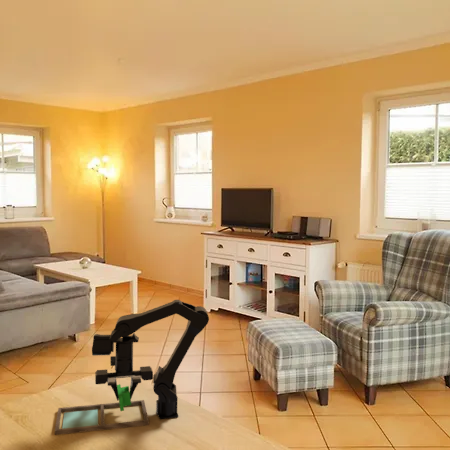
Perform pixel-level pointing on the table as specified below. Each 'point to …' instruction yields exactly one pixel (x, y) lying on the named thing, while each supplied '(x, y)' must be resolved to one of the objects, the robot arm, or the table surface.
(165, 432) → the table surface
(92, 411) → the sorting frame
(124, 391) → the pipe clamp
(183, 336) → the robot arm
